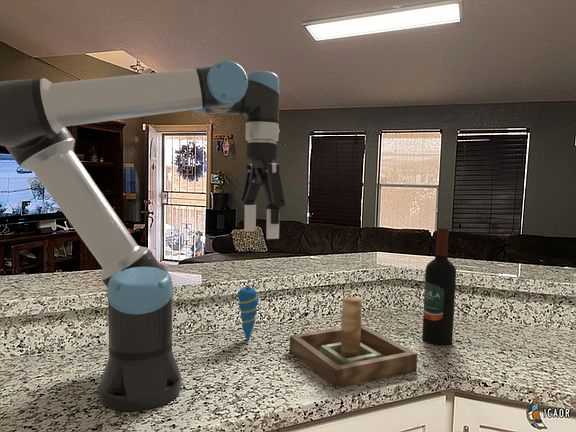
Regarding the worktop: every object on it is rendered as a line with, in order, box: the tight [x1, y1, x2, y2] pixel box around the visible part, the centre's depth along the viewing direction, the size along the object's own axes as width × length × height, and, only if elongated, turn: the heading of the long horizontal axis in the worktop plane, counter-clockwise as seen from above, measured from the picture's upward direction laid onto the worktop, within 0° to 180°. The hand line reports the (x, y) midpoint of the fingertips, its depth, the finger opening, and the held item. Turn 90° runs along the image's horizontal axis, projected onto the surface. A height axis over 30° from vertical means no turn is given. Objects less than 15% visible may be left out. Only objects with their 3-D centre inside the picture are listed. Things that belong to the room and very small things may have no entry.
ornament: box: [237, 284, 259, 341], centre depth 115 cm, size 5×5×15 cm
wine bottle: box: [421, 226, 457, 347], centre depth 117 cm, size 8×8×30 cm
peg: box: [341, 296, 363, 359], centre depth 103 cm, size 4×4×14 cm
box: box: [289, 324, 418, 390], centre depth 104 cm, size 21×21×4 cm
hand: (260, 234), depth 104 cm, fingers open, 13 cm apart
